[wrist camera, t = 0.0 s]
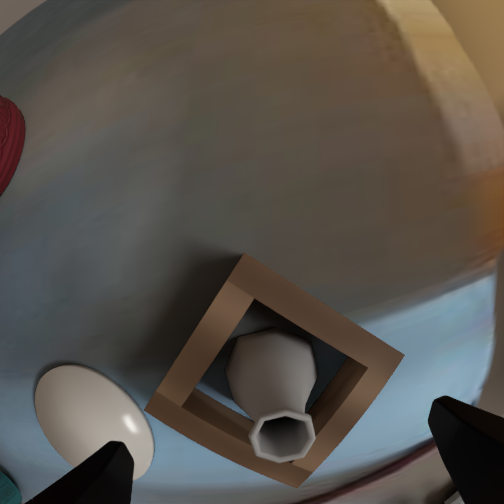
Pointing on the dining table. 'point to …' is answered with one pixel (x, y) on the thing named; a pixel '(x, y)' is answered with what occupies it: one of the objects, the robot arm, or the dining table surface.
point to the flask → (274, 391)
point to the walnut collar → (238, 426)
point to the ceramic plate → (91, 416)
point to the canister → (10, 140)
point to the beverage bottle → (8, 491)
